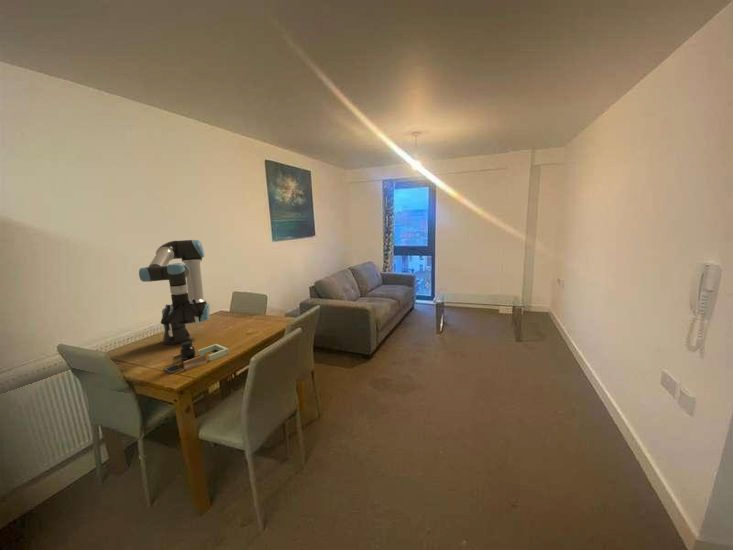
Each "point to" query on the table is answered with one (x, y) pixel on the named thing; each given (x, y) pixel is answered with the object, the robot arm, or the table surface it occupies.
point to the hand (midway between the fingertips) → (184, 331)
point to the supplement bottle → (187, 351)
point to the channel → (190, 361)
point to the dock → (220, 353)
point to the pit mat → (173, 369)
